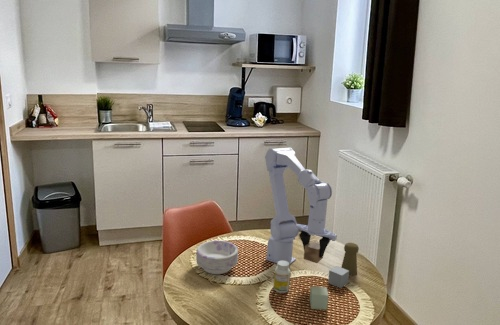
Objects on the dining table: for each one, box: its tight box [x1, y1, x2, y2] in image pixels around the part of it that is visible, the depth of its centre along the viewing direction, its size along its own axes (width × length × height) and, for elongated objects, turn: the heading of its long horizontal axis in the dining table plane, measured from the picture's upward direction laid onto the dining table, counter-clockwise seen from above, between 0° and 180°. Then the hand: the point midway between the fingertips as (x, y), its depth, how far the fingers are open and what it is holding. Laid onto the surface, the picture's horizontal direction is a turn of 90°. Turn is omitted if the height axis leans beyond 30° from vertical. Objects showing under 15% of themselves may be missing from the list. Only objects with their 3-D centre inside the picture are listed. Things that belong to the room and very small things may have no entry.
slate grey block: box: [327, 265, 350, 289], centre depth 145 cm, size 5×5×5 cm
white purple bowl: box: [195, 240, 239, 275], centre depth 151 cm, size 15×15×8 cm
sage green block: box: [309, 285, 329, 311], centre depth 131 cm, size 5×5×5 cm
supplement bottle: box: [273, 260, 292, 294], centre depth 139 cm, size 5×5×10 cm
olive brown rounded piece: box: [340, 242, 360, 276], centre depth 153 cm, size 6×6×11 cm
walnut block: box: [303, 240, 324, 264], centre depth 143 cm, size 5×5×5 cm
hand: (313, 254), depth 143 cm, fingers closed on walnut block, 5 cm apart
